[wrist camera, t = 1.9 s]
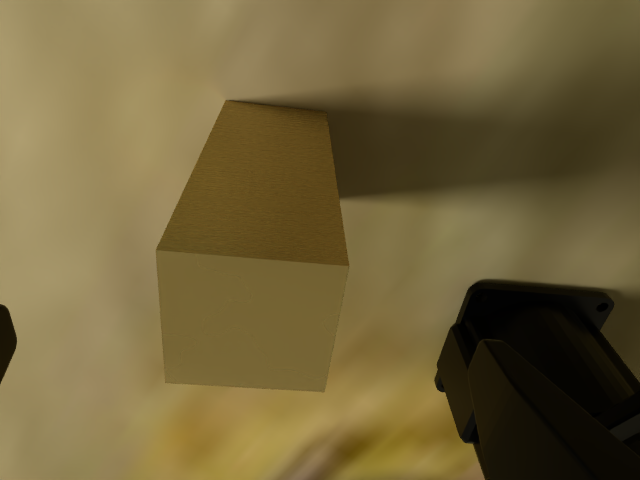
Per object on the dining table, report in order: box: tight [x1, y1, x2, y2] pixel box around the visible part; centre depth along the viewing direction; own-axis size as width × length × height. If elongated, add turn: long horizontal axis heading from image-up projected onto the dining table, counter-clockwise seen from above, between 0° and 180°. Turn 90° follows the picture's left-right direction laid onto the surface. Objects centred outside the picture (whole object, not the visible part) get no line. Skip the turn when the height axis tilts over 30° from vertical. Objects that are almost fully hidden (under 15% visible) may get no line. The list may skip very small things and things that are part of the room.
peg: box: [156, 100, 349, 392], centre depth 13 cm, size 3×3×9 cm
